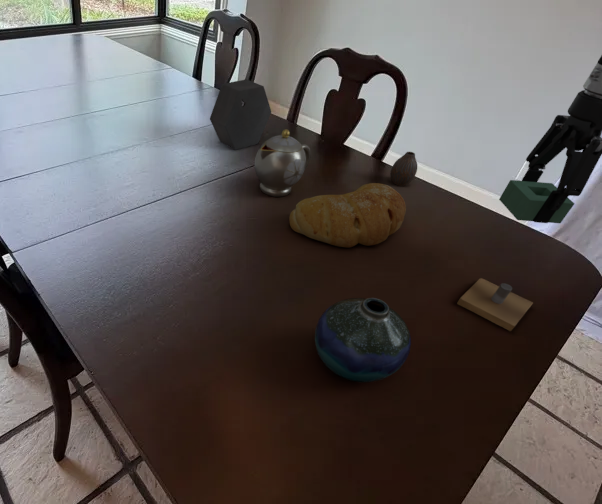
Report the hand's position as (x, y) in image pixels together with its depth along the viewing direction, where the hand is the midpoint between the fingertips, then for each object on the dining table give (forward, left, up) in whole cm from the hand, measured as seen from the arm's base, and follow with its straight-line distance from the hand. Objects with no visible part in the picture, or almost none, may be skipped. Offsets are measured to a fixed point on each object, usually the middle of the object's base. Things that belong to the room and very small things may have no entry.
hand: (528, 210), depth 94 cm
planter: (+60, -60, -14) cm, 86 cm away
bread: (+32, -11, -14) cm, 36 cm away
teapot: (+49, -29, -14) cm, 59 cm away
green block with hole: (0, 0, 0) cm, 0 cm away
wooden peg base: (+8, +17, -14) cm, 23 cm away
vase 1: (+42, +36, -14) cm, 57 cm away
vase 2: (+12, -39, -14) cm, 43 cm away
